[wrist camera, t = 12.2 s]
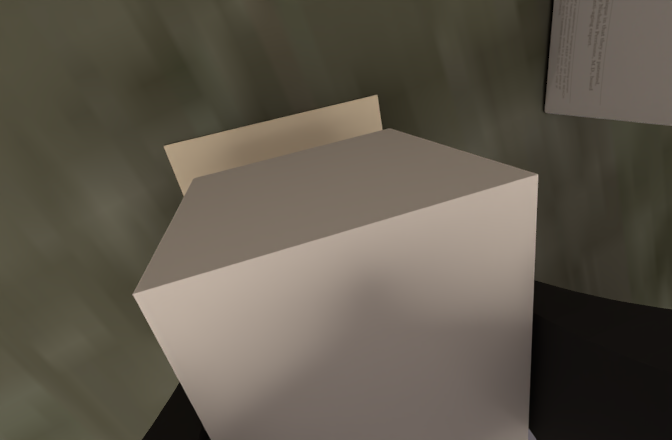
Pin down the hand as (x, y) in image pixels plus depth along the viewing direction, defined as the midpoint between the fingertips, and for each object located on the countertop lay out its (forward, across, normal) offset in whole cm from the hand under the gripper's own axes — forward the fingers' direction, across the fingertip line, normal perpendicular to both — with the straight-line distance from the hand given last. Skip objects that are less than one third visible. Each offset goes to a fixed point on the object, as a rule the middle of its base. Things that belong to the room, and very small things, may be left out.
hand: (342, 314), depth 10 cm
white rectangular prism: (+2, 0, 0) cm, 2 cm away
